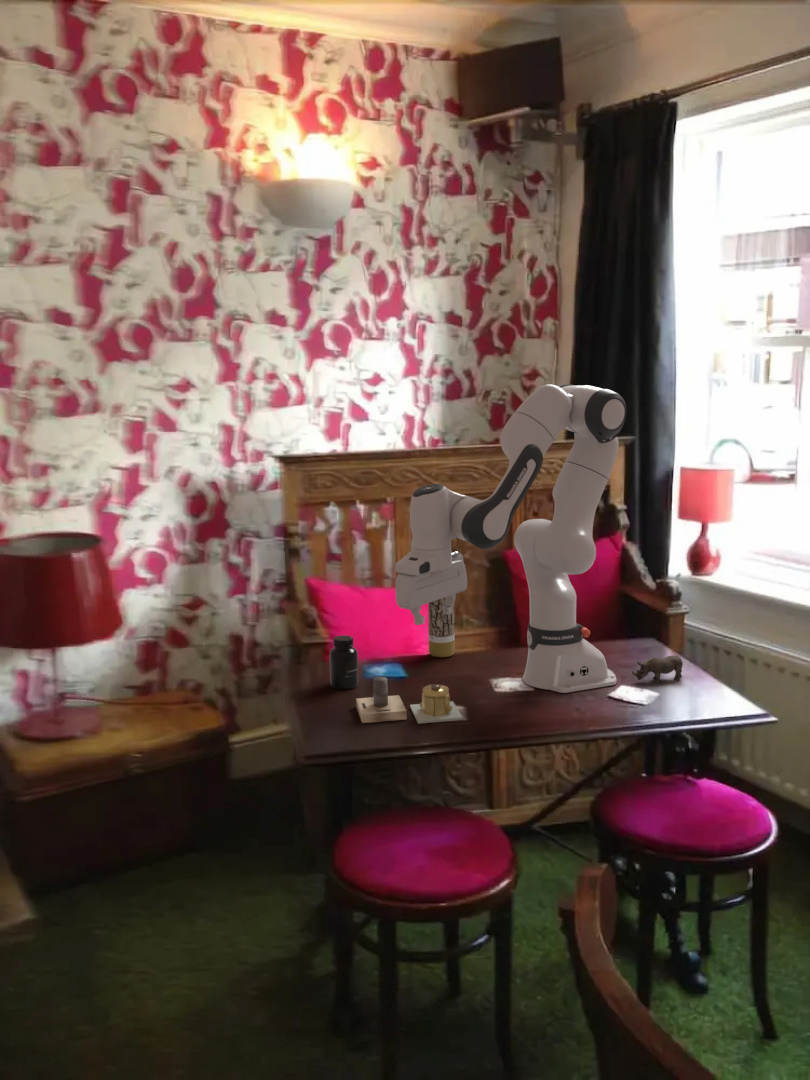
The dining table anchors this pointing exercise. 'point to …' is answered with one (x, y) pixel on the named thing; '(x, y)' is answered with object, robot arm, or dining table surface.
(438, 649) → the paper tube
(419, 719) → the coaster
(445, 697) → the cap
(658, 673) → the rhino figurine
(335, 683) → the supplement bottle
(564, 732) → the dining table surface
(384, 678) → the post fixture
